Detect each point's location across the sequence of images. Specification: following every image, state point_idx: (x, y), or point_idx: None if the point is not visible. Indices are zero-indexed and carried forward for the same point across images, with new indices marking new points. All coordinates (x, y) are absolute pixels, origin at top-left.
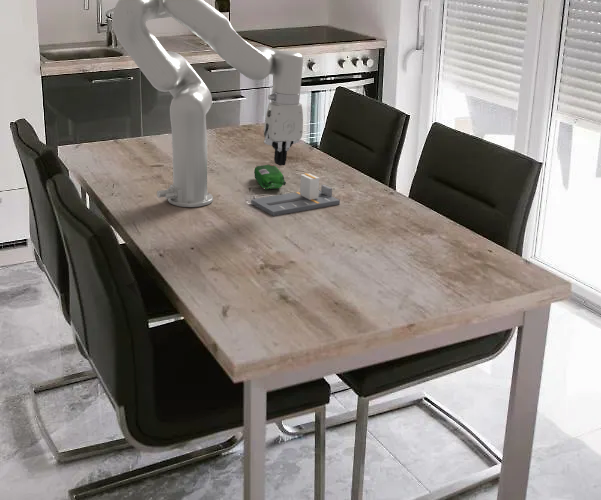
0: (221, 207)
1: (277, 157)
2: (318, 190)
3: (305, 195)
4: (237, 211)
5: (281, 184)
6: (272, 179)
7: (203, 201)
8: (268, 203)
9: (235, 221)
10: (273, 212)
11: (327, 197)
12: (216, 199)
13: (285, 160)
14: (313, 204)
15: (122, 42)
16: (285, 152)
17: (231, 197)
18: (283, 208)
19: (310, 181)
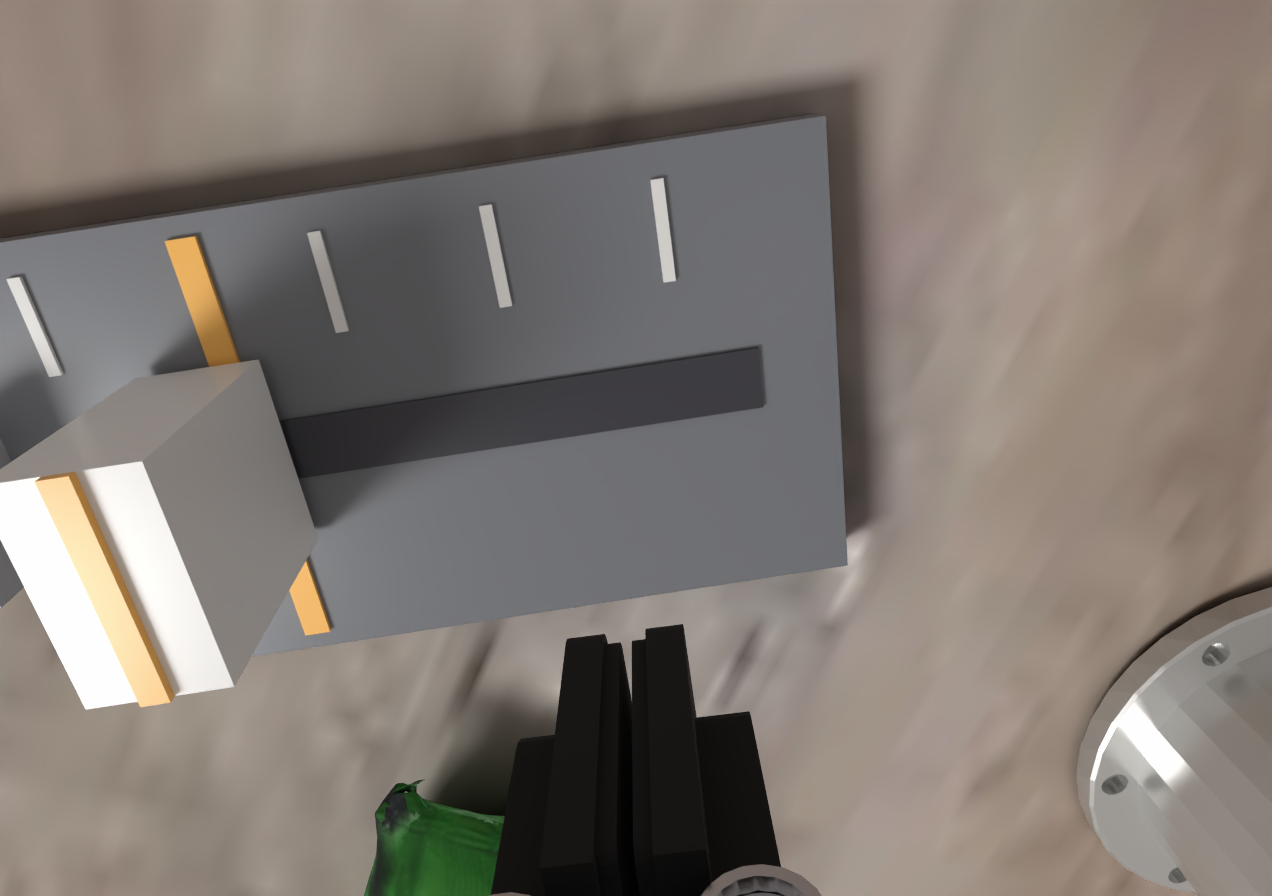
0: (1131, 524)
1: (758, 772)
2: (89, 412)
3: (278, 451)
4: (1066, 379)
5: (426, 800)
6: None
7: (1266, 628)
8: (749, 397)
9: (1262, 88)
10: (821, 115)
11: (13, 401)
12: (1051, 714)
13: (565, 693)
14: (255, 215)
15: None
16: (574, 840)
17: (912, 727)
18: (665, 185)
19: (156, 447)
